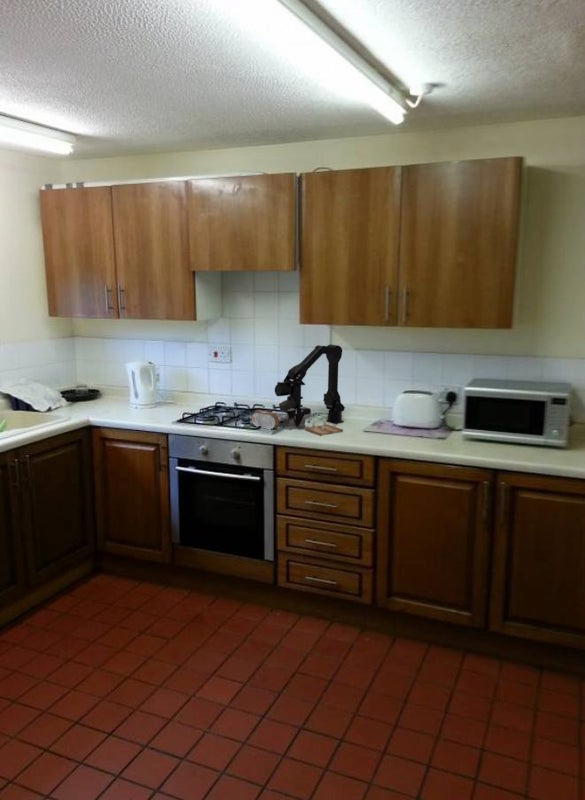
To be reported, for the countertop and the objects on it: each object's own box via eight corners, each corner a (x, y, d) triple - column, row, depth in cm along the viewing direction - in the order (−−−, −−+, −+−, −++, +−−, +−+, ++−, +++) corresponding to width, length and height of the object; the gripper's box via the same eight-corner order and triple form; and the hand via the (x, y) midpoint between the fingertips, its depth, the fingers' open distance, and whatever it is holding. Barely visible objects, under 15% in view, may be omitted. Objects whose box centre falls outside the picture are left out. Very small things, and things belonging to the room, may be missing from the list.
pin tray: (327, 426, 319) (327, 419, 318) (342, 431, 309) (343, 424, 309) (304, 430, 311) (304, 422, 310) (320, 435, 301) (320, 428, 301)
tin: (279, 429, 311) (279, 412, 310) (276, 431, 309) (276, 414, 307) (253, 425, 319) (253, 409, 317) (250, 426, 316) (250, 410, 314)
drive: (299, 425, 321) (299, 415, 320) (304, 427, 318) (304, 417, 317) (284, 428, 314) (284, 418, 313) (289, 430, 311) (290, 420, 310)
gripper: (270, 392, 315) (270, 423, 318) (293, 399, 300) (292, 431, 303) (289, 390, 322) (288, 421, 325) (311, 397, 307) (311, 428, 310)
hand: (294, 425), depth 316 cm, fingers closed on drive, 4 cm apart
